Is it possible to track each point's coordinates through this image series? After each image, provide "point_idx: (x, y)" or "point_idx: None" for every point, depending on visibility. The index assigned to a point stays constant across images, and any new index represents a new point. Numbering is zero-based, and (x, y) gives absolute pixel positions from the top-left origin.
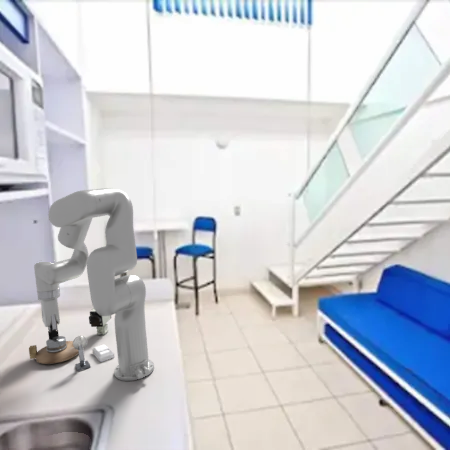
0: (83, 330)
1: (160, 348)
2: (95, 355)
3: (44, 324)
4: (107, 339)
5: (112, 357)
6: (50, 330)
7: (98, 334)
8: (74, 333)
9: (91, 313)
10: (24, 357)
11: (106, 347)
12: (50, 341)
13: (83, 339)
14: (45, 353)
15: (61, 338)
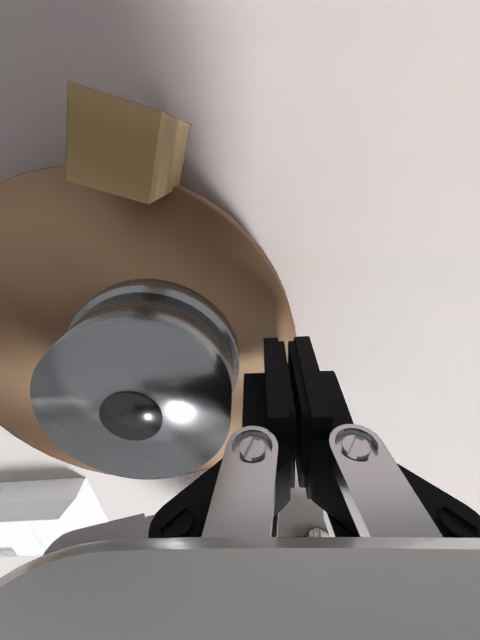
0: (459, 492)
1: None
2: (33, 484)
3: (192, 574)
4: None
5: None
6: (221, 468)
7: (312, 532)
8: (464, 452)
9: None
10: (292, 43)
11: (30, 552)
12: (114, 369)
13: None
14: (102, 264)
15: (143, 455)
